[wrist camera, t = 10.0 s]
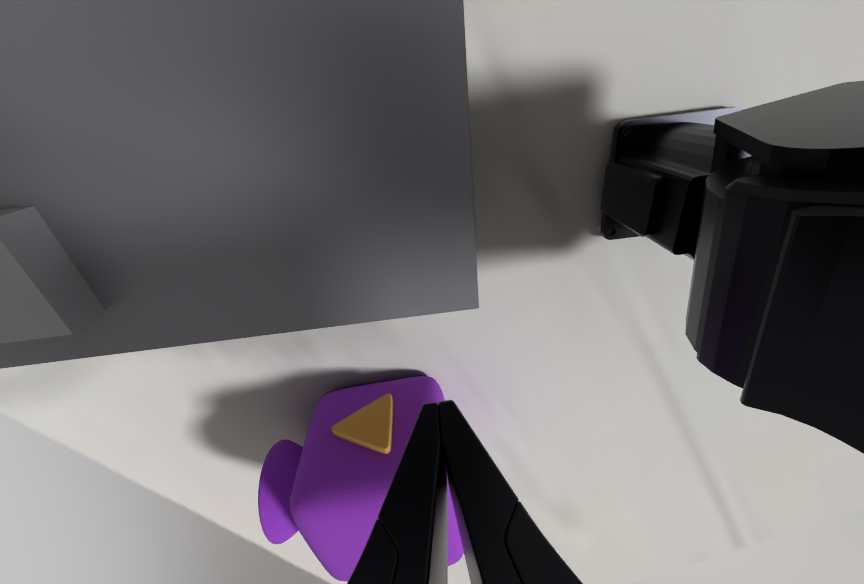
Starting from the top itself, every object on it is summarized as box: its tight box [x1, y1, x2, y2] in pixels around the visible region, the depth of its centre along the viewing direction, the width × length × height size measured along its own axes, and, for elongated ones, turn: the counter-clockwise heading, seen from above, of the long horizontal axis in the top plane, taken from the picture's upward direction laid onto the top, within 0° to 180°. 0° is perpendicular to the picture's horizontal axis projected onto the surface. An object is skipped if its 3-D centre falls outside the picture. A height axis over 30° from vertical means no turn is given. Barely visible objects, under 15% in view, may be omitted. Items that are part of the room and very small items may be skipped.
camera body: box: [0, 0, 479, 368], centre depth 14 cm, size 23×12×10 cm, turn 96°
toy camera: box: [258, 376, 464, 581], centre depth 25 cm, size 11×14×10 cm
